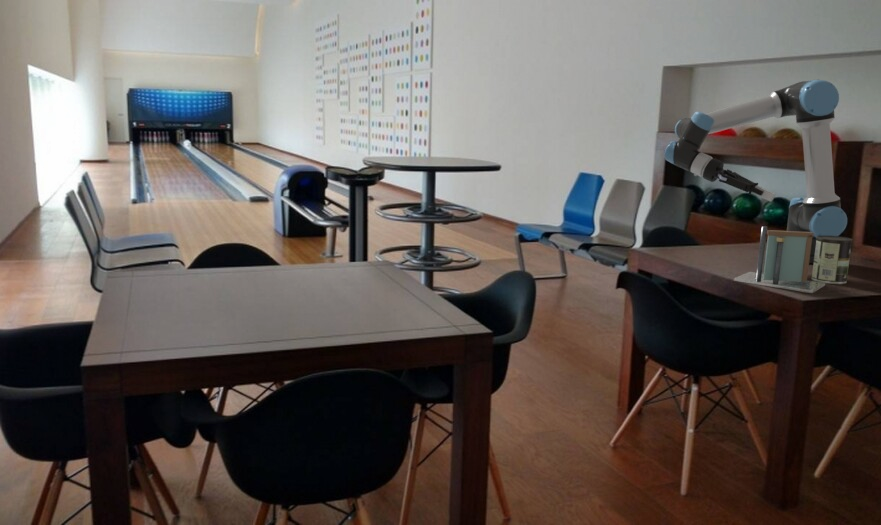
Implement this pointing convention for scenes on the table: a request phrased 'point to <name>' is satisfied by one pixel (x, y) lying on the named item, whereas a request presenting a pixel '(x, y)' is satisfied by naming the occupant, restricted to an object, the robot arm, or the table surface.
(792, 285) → the gate frame
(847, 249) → the coffee can
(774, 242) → the panel
